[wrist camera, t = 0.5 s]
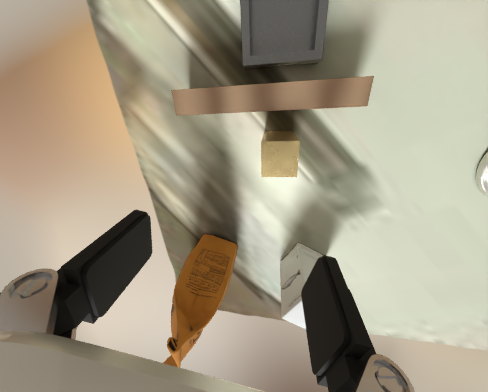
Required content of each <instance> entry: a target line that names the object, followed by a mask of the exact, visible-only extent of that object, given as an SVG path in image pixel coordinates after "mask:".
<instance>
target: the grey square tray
mask: <svg viewBox="0 0 488 392" xmlns="http://www.w3.org/2000/svg"><path fill="white" fill-rule="evenodd" d="M328 1H329V0H240V7H241V31H242V54H243V66H244V68H245V69H251V68H262V67H274V66H286V65H298V64H310V63H318V62H319V61H320V60H322V55H323V46H324V37H325V28H326V19H327V10H328Z"/></svg>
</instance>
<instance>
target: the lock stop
mask: <svg viewBox="0 0 488 392" xmlns="http://www.w3.org/2000/svg"><path fill="white" fill-rule="evenodd" d="M299 145H300V140H299V139H298V137H297V136H296V134H295V133H294V132H293V131H267V132H264V135H263V138H262V141H261V162H262V177H297V170H298V157H299Z"/></svg>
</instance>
